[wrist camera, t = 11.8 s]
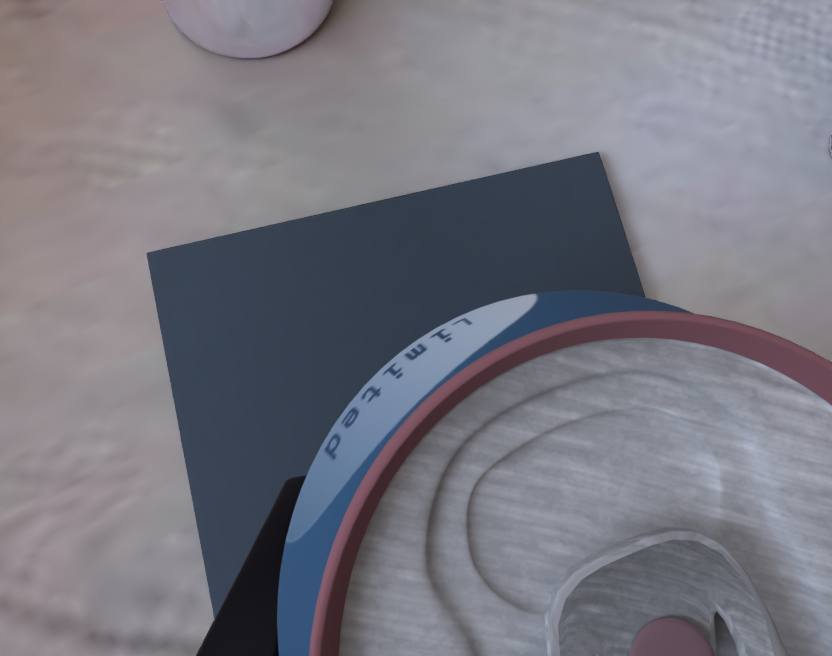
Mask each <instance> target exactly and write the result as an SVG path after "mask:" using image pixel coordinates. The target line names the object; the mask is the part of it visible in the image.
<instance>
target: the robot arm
mask: <svg viewBox="0 0 832 656" xmlns="http://www.w3.org/2000/svg"><path fill="white" fill-rule="evenodd" d="M306 476H307V475H304V476H299V477H294V478H290V479H288V480H286V481H285V483H284V485H283V486H282V488H281V490H280V492H279V494H278V496H277V498H276V500H275V502H274V504H273V506H272V508H271V510H270V512H269V514H268V516H267V518H266V520H265V522H264V524H263V526H262V528H261V530H260V531H259V533H258V535H257V537H256V539H255V541H254V543H253V545H252V547H251V549H250V551H249V553H248V555H247V557H246V559H245V561H244V563H243V565H242V567H241V569H240V571H239V573H238V575H237V576H236V578H235V580H234V582H233V584H232V586H231V588H230V590H229V592H228V594H227V596H226V598H225V600H224V602H223V604H222V606H221V608H220V610H219V612H218V614H217V616H216V618H215V620H214V621H213V623H212V625H211V627H210V629H209V631H208V633H207V635H206V637H205V639H204V641H203V643H202V645H201V647H200V649H199V651H198V653H197V655H196V656H279V651H278V632H277V606H278V588H279V579H280V570H281V563H282V558H283V552H284V547H285V541H286V537H287V533H288V530H289V526H290V522H291V518H292V514H293V511H294V508H295V505H296V502H297V500H298V497H299V494H300V491H301V488H302V486H303V484H304V481H305V479H306Z"/></svg>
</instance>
